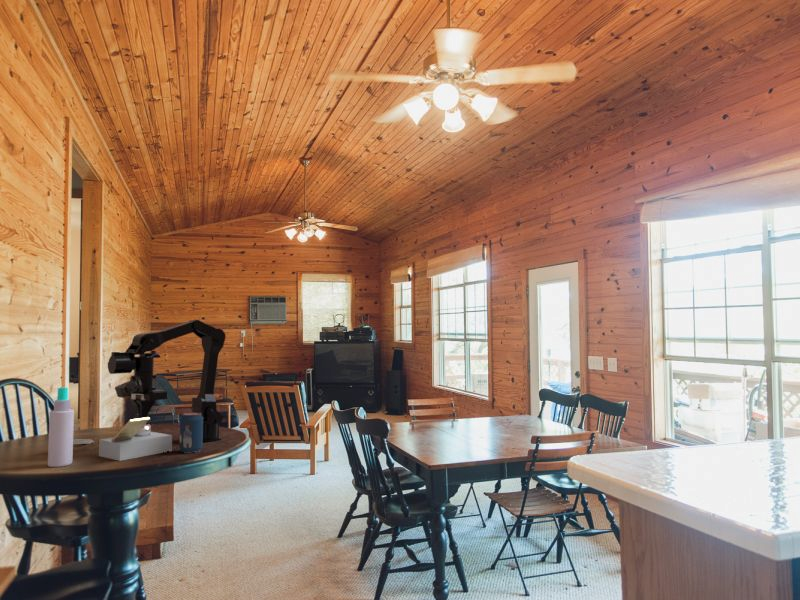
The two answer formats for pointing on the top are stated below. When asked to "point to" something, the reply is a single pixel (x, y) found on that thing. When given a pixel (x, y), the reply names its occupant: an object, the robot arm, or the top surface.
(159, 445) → the block
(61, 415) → the spray bottle
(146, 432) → the steel pin
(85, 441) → the caliper
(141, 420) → the plate
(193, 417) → the soda can
